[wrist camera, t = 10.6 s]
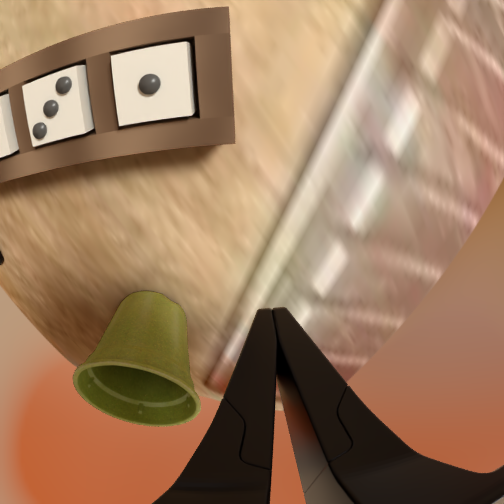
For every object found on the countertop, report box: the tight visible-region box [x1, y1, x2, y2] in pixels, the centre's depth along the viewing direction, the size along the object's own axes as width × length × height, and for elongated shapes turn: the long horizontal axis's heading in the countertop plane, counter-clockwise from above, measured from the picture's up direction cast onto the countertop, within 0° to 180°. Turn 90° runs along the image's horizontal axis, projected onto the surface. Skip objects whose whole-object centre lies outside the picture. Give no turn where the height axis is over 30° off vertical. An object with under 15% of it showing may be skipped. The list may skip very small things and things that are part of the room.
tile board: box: [0, 7, 235, 183], centre depth 14 cm, size 18×7×4 cm, turn 92°
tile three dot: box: [22, 65, 95, 147], centre depth 13 cm, size 4×4×3 cm
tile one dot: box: [111, 42, 198, 126], centre depth 13 cm, size 4×4×3 cm
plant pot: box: [73, 291, 201, 427], centre depth 22 cm, size 9×9×9 cm
